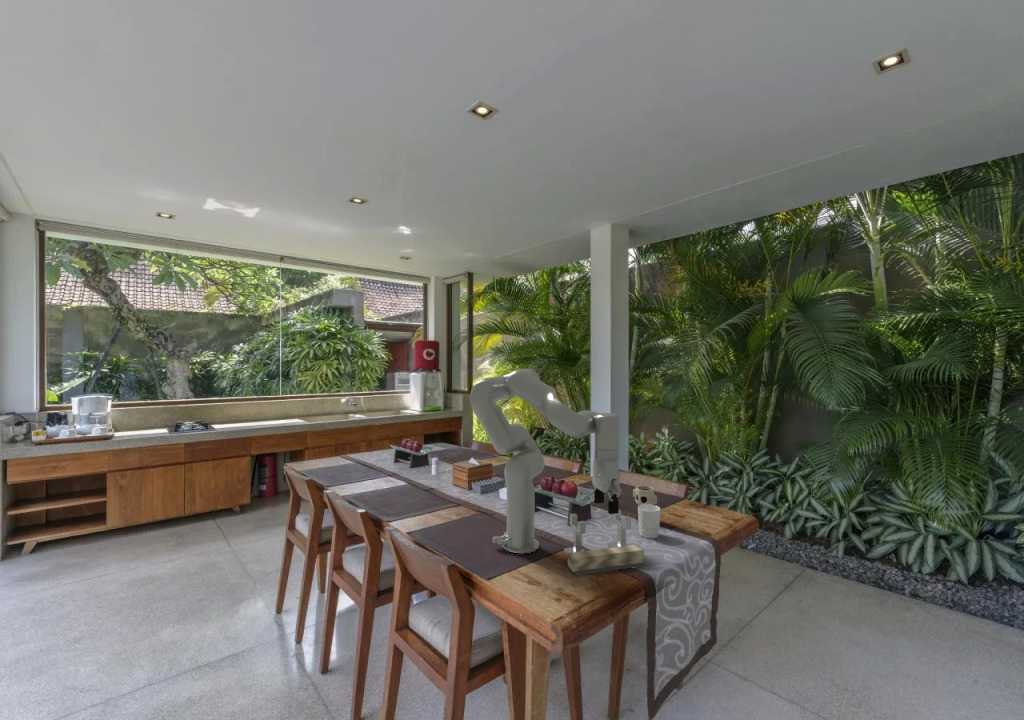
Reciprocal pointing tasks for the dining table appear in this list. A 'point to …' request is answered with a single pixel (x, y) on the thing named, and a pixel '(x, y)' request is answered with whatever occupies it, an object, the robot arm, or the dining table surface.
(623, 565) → the mat
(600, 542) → the dining table surface
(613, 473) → the robot arm
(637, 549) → the rail
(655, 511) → the white cup
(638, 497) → the character mug
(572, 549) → the hook stands
